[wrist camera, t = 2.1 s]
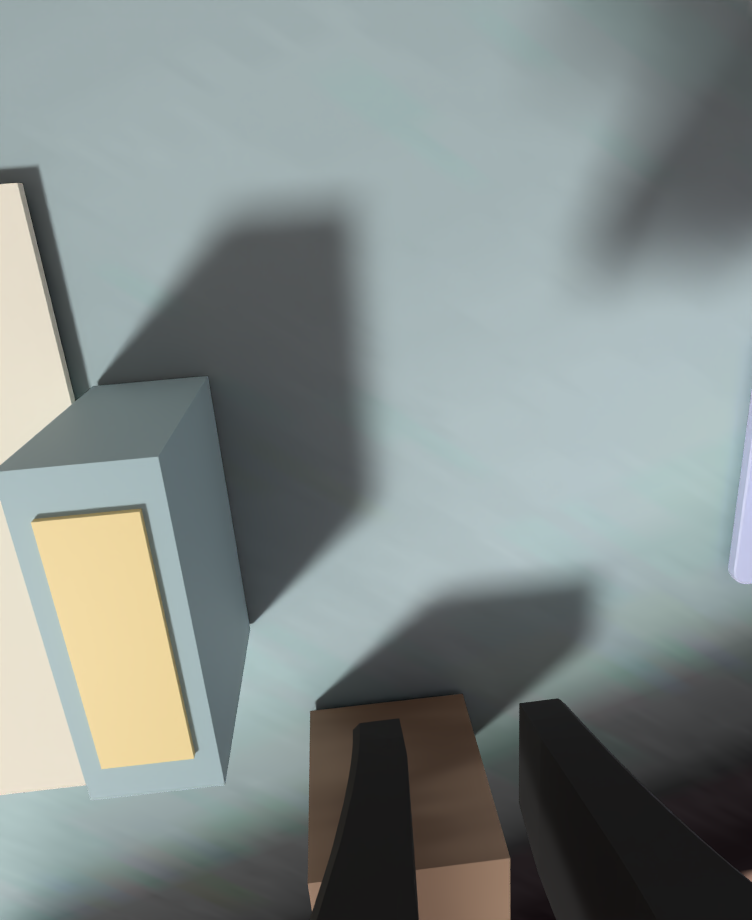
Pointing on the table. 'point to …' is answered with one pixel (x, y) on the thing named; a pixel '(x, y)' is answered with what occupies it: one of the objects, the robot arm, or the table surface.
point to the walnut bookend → (420, 805)
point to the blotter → (3, 587)
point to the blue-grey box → (135, 582)
